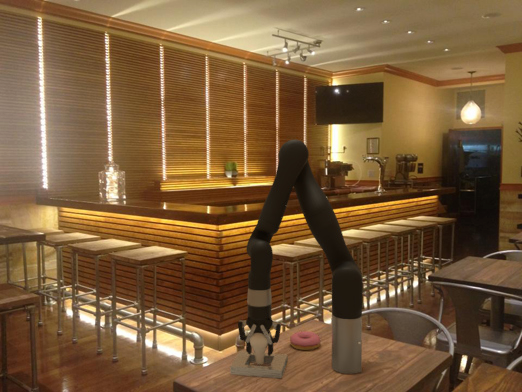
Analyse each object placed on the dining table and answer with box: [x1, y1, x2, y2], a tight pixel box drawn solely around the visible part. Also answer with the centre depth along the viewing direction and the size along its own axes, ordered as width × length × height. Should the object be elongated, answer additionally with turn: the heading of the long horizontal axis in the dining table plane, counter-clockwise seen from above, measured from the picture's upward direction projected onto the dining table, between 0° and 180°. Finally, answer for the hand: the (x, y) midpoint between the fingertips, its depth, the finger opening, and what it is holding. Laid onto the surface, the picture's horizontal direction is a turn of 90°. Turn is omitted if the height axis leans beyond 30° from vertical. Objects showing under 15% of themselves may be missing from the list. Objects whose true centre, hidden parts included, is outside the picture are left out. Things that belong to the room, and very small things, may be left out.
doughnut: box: [289, 330, 322, 351], centre depth 169 cm, size 11×11×4 cm
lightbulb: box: [250, 333, 269, 366], centre depth 151 cm, size 6×6×11 cm
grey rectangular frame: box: [229, 350, 288, 380], centre depth 151 cm, size 16×12×2 cm
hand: (259, 353), depth 151 cm, fingers closed on lightbulb, 6 cm apart
